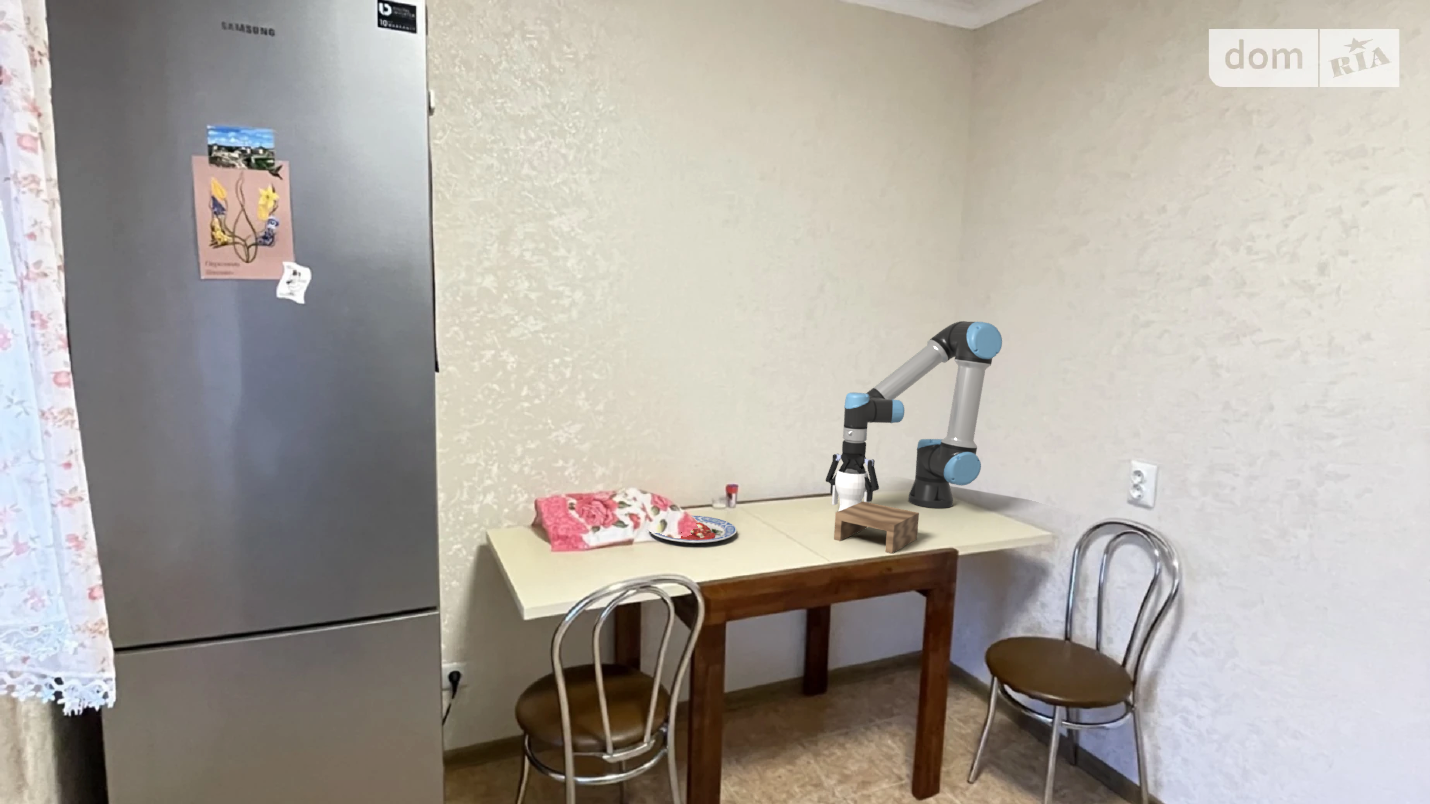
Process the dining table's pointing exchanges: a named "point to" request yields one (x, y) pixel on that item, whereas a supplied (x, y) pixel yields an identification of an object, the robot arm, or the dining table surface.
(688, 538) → the ceramic plate
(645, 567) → the dining table surface
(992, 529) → the dining table surface
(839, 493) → the cup
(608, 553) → the dining table surface
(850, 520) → the walnut shelf
